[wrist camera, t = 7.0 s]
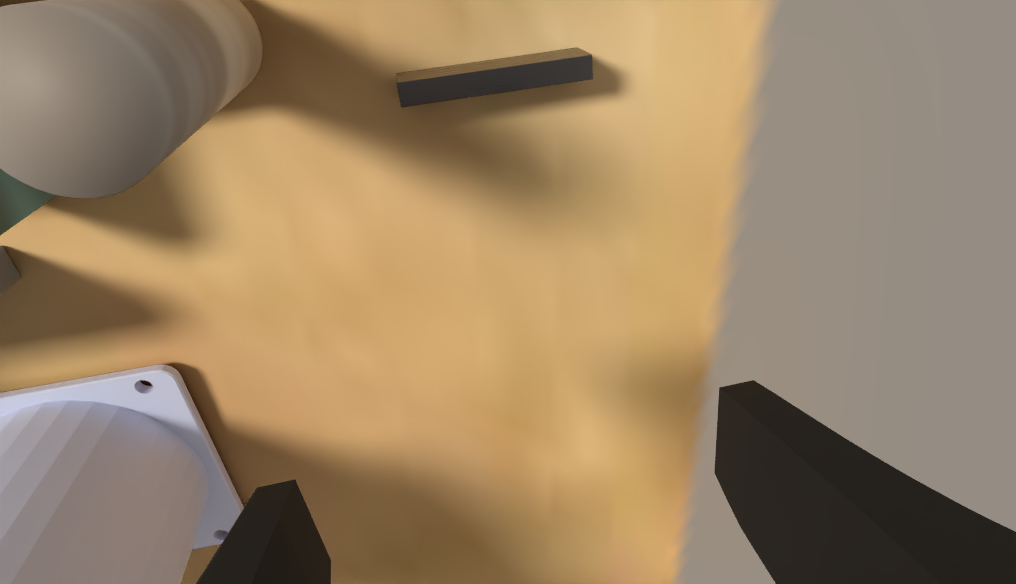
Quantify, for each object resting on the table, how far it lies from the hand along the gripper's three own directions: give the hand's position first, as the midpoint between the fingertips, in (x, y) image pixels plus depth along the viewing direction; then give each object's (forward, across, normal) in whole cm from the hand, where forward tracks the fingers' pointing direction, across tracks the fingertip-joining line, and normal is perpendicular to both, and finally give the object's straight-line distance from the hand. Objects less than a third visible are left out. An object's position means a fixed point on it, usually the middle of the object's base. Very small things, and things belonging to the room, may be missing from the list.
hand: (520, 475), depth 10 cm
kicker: (+10, +8, -7) cm, 15 cm away
